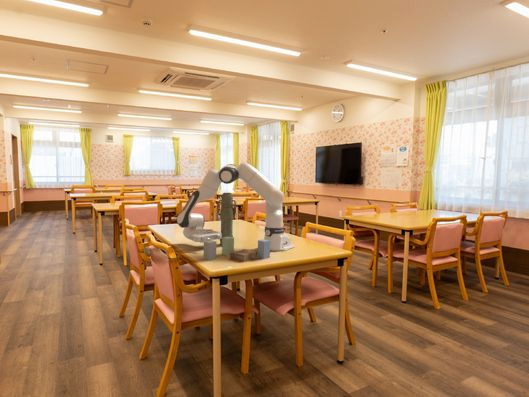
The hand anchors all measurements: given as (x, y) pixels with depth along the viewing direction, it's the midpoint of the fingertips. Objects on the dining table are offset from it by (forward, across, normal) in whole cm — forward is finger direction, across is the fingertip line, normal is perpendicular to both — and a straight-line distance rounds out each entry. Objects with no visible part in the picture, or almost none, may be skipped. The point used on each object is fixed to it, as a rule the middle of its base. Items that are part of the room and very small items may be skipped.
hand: (214, 238), depth 214 cm
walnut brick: (+26, 0, +8) cm, 27 cm away
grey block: (+14, -15, +8) cm, 22 cm away
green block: (+12, 0, +7) cm, 14 cm away
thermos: (-9, +17, +8) cm, 21 cm away
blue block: (+32, +10, +7) cm, 35 cm away
